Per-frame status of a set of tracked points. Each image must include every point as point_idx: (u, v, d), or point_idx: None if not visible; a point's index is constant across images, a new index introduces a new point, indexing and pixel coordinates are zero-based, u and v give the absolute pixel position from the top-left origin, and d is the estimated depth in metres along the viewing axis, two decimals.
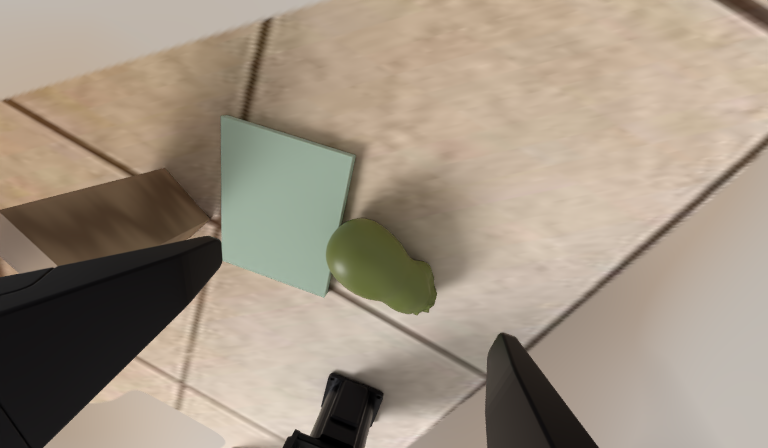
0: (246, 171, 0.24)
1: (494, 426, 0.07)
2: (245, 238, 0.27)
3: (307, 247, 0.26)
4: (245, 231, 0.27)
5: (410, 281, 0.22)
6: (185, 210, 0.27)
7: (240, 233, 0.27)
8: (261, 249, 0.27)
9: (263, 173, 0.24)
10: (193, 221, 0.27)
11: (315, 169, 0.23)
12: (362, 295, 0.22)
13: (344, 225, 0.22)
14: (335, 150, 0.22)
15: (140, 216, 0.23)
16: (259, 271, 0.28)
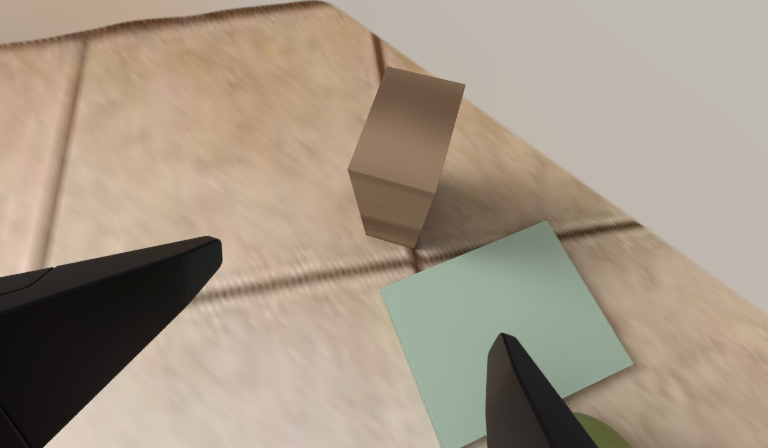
0: (518, 266, 0.22)
1: (494, 426, 0.07)
2: (438, 302, 0.21)
3: None
4: (447, 298, 0.21)
5: None
6: None
7: (439, 293, 0.21)
8: (440, 328, 0.20)
9: (532, 284, 0.21)
10: None
11: (587, 335, 0.20)
12: None
13: (603, 423, 0.17)
14: None
15: None
16: (405, 343, 0.20)
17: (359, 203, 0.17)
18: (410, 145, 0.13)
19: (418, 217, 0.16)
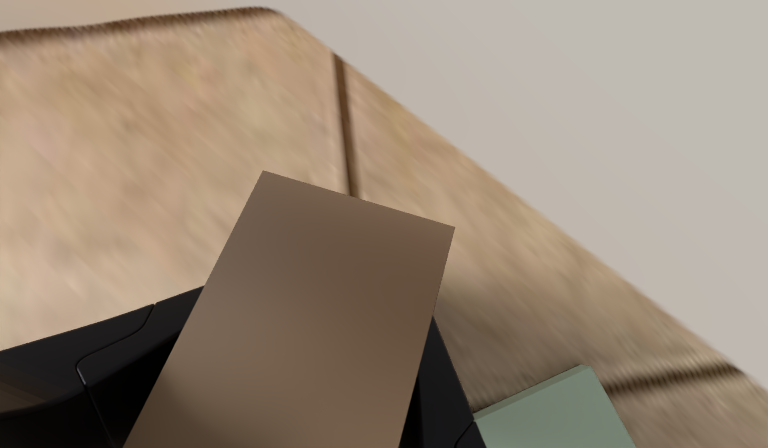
0: None
1: None
2: None
3: None
4: None
5: None
6: None
7: None
8: None
9: None
10: None
11: None
12: None
13: None
14: None
15: None
16: None
17: None
18: (287, 434, 0.04)
19: None
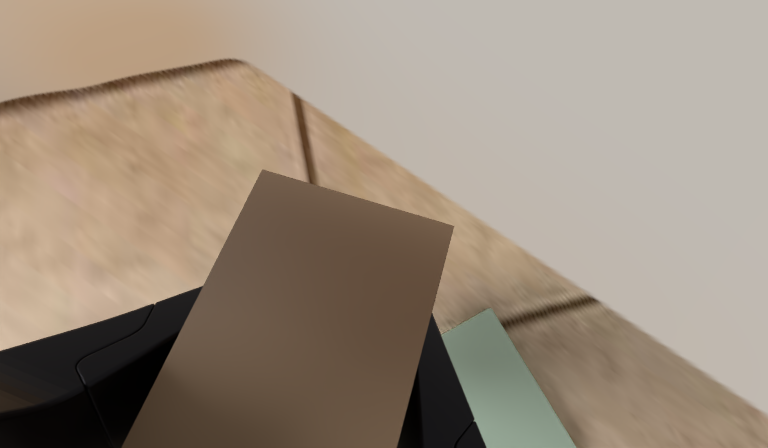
0: (462, 370, 0.19)
1: None
2: None
3: None
4: None
5: None
6: None
7: None
8: None
9: (479, 392, 0.18)
10: None
11: None
12: None
13: None
14: None
15: None
16: None
17: None
18: (286, 432, 0.04)
19: None
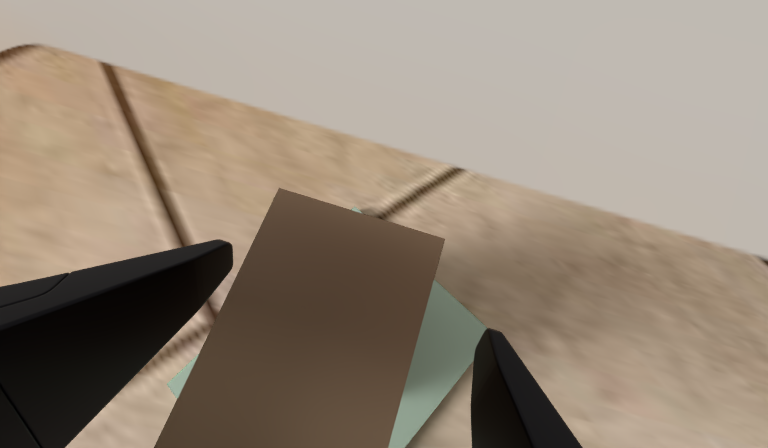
0: None
1: (478, 420, 0.07)
2: None
3: None
4: None
5: None
6: None
7: None
8: None
9: None
10: None
11: (435, 323, 0.16)
12: None
13: None
14: None
15: None
16: None
17: None
18: (302, 413, 0.05)
19: None
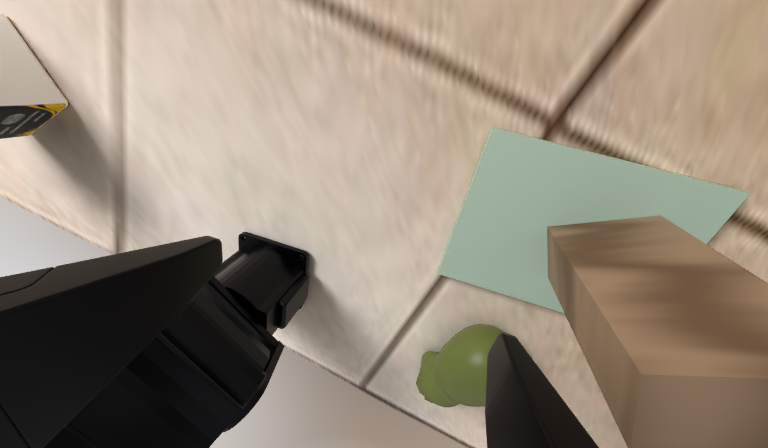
0: (648, 212, 0.17)
1: (494, 426, 0.07)
2: (535, 184, 0.18)
3: (515, 268, 0.21)
4: (547, 186, 0.18)
5: None
6: None
7: (544, 176, 0.18)
8: (514, 205, 0.19)
9: None
10: None
11: None
12: (450, 384, 0.22)
13: None
14: None
15: None
16: (474, 193, 0.19)
17: (590, 297, 0.13)
18: (706, 427, 0.09)
19: (591, 364, 0.14)
